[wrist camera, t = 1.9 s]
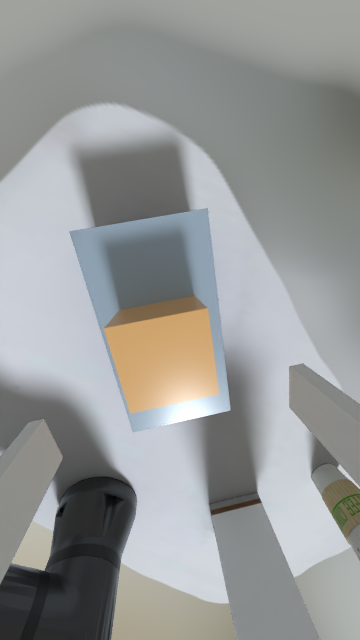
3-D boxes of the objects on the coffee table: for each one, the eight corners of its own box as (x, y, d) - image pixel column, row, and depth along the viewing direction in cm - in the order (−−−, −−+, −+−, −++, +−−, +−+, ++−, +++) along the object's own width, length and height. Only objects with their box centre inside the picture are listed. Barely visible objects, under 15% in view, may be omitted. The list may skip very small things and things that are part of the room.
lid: (134, 420, 26) (125, 483, 19) (78, 234, 19) (25, 215, 12) (225, 400, 27) (251, 453, 20) (202, 213, 20) (229, 182, 12)
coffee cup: (317, 454, 43) (398, 550, 28) (351, 461, 44) (442, 555, 30) (296, 485, 45) (360, 589, 31) (329, 491, 47) (404, 591, 32)
